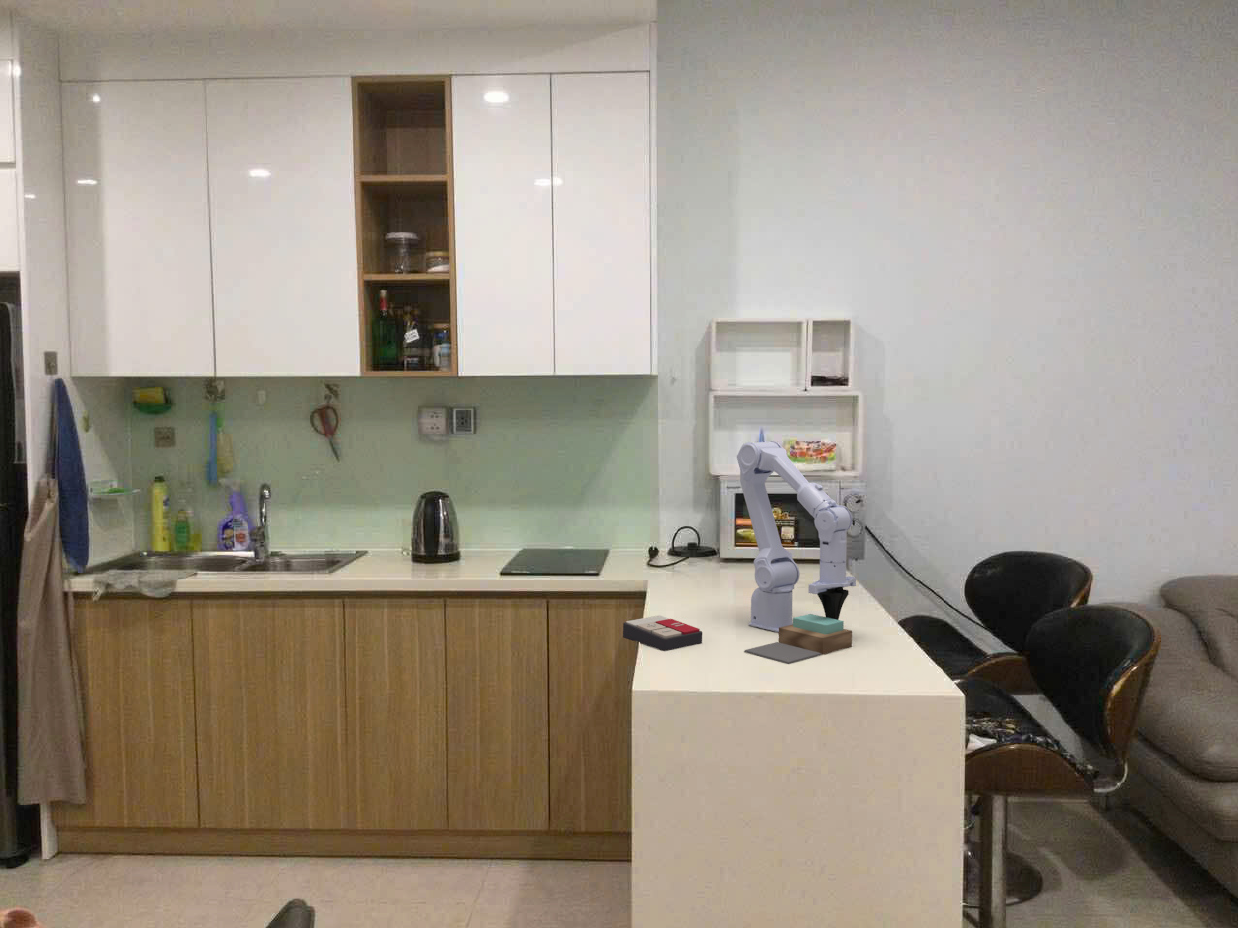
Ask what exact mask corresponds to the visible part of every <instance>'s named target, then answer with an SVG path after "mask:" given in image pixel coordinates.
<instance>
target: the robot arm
mask: <svg viewBox="0 0 1238 928" xmlns="http://www.w3.org/2000/svg"><path fill="white" fill-rule="evenodd" d="M736 459H737V464H738V468H739V474H740V475H739V482H740V487H741V489H742V494H743V497H744V501H745V504H746V509H747V512H748V515H749V518H750V522H751V526H752V531H753V534H754V537H755V541H756V544H757V548H758V551H759V552H758V554H757V556H755V558H754V560H753V566H754V581H755V583H756V585H757V586H758V587H757V588H755V589H754V590H753V592H752V594H751V597H750V622H749V623H748V626H751V627H755V628H758V629H759V628H760V629H764V630H767V631H771V632H776V633H779V627H784V626H788V625H792V624H793V590H795V585H796V584H797V583H798V581H799V580H800V573H801V572H800V569H799V565H798V564H797V563H796V562H795V561H794V558H793V556H792V553H791V552H790V551H789V550H787V549H786V547H783V545H782V541H781V537H780V533H779V530H778V527H777V524H776V520H775V516H774V513H773V509H772V505H771V502H770V499H769V495H768V491H767V487H766V481H767V480H768V478H769V477H770V476H771V475H772V474H773V473H774V472H775V473H776V474H778V476H779V477H780V478H781V479H782V480H783V481H785V483H787V484H788V485H789V486H790V487H791V488H792V489H793V490H794V491H795V492H796V493H797V494H796V498H797V499H796V500H797V502H799V504H801V505H802V507H803V508H804V509H805V510H806V511H807V512H808V514H809V515H810V516H811V517H812V518H814V520H813V522H814V527H815V528H816V530H817V533H818V539H819V579H818V580H816V581H813V582H812V583H808V587H807V588H808V591H807V592H808V594H813V595H817V597H818V598H819V600H820V602H821V604H822V608H823V612H824V615H825V616H824V617H827V618H832V619H836V620H840V619H839V618H840V615H841V612H842V608H843V605H844V603H845V602H846V599H847V598H848V595H850V594H849V592H850V591H849V590H848V589H846V587H847V588H848V587H856V586H857V577H854V576H851V575H850V576H849V575H848V576H847V549H848V547H847V545H848V544H847V541H848V540H847V538H848V535H847V531H848V530H850V528H851V527H852V525H853V515H852V512H851V511H850V510H849V508H848V507H847V506H845V505H841V504H840V505H839V504H838V503H837V502H836V500H834V499H833V498H831V497H830V496H829V495H828V494H827V492H825V490H823V489H824V487H823V486H822V484H820V483H819V484H818V483H817V482H809V481H808V480H807V478H806V477H805V476H804V475H803V474H802V472H801V471H800V470H799V468H798V467H797V466H796V465H795V463H794V462H793V461H792V460H791V459H790V458H789V456H788V452H787V449H785V448H784V447H783V446H782V445H781V444H780V443H779V442H778V441H775V440H769V441H759V442H758V441H757V442H756V441H755V442H753V441H747V442H745V443H743V444H742V445H741V447H740V449H739V450H738V453H737V455H736ZM844 588H845V589H844Z"/></svg>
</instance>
